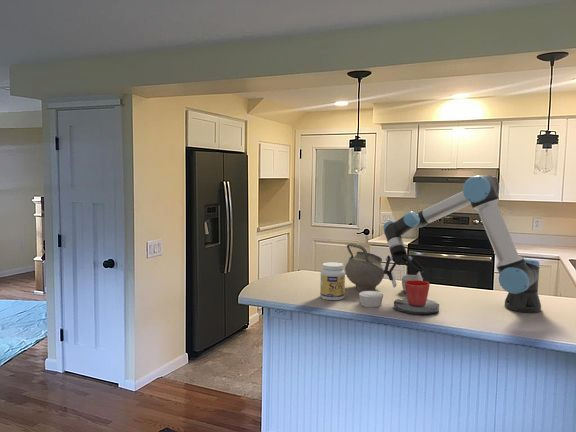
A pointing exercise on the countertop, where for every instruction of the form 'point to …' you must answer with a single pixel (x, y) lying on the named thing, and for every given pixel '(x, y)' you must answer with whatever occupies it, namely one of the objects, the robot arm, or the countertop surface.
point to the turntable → (416, 307)
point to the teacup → (408, 279)
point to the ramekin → (371, 298)
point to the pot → (364, 269)
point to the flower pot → (417, 292)
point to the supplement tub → (332, 281)
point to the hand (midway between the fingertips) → (408, 285)
